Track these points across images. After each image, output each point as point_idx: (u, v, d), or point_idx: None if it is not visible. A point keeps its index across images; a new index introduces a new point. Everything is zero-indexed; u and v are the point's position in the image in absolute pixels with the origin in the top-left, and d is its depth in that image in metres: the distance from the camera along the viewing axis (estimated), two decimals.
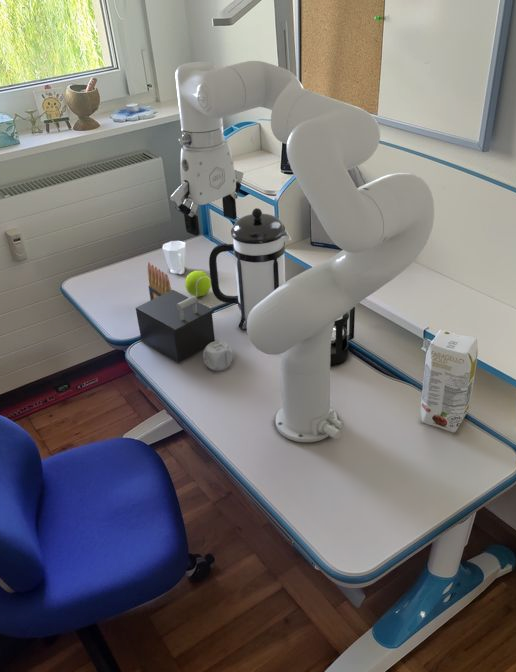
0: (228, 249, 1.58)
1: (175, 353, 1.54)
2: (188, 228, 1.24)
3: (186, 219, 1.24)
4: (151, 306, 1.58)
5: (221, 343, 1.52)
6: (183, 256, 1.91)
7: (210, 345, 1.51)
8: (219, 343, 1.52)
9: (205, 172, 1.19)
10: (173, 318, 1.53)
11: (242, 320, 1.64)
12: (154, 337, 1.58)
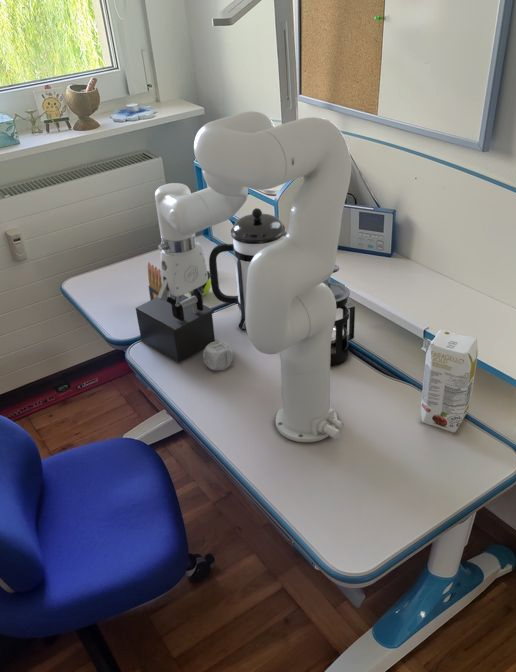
0: (228, 249, 1.58)
1: (175, 353, 1.54)
2: (175, 315, 1.50)
3: (173, 308, 1.49)
4: (151, 306, 1.58)
5: (221, 343, 1.52)
6: None
7: (210, 345, 1.51)
8: (219, 343, 1.52)
9: (181, 271, 1.43)
10: (173, 318, 1.53)
11: (242, 320, 1.64)
12: (154, 337, 1.58)
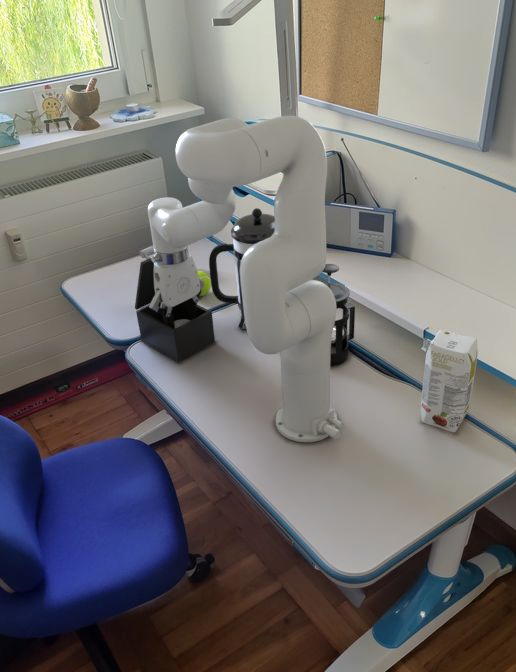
0: (228, 249, 1.58)
1: (175, 353, 1.54)
2: None
3: (164, 318, 1.53)
4: None
5: (186, 320, 1.59)
6: None
7: (175, 322, 1.59)
8: (184, 320, 1.59)
9: (173, 283, 1.47)
10: None
11: (242, 320, 1.64)
12: (154, 337, 1.58)
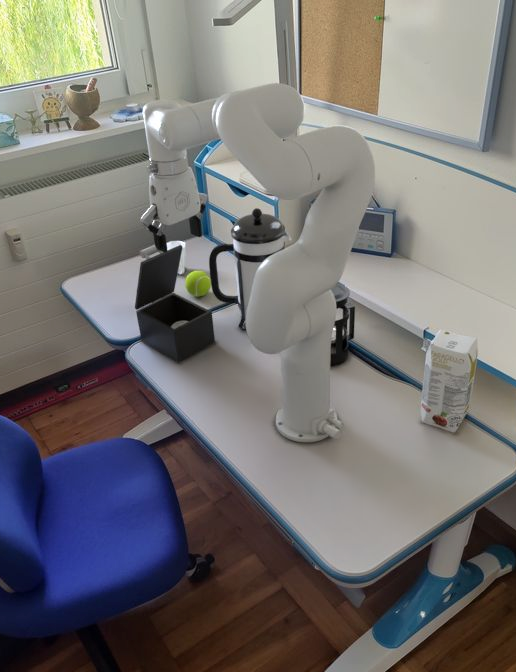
0: (228, 249, 1.58)
1: (175, 353, 1.54)
2: (157, 246, 1.39)
3: (155, 238, 1.38)
4: None
5: (186, 322, 1.59)
6: (183, 256, 1.91)
7: (176, 324, 1.58)
8: (184, 322, 1.58)
9: (171, 197, 1.33)
10: None
11: (242, 320, 1.64)
12: (154, 337, 1.58)
